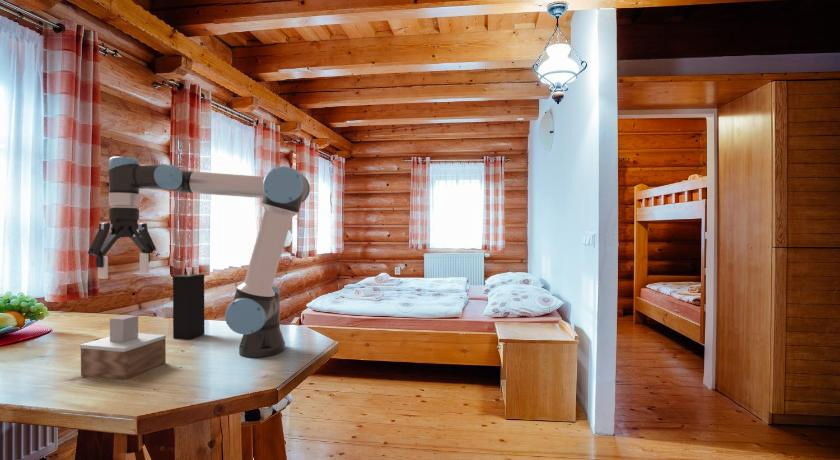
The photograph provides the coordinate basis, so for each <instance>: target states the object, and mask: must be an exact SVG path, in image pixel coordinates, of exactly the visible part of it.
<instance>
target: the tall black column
mask: <svg viewBox="0 0 840 460" xmlns="http://www.w3.org/2000/svg"><path fill="white" fill-rule="evenodd" d="M185 269H186V270H185V271H186V273H185V274H179V275H178V274H177V275H173V276H172V322H173V323H172V326H173V327H172V329H173V330H172V333H173V334H172V337H173V339H178V340H179V339H181V340H193V339H195V338H198V337H201V336H203V335H205V274H203V273H192V270H193V267H188V266H185Z"/></svg>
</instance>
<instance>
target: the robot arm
mask: <svg viewBox="0 0 840 460" xmlns="http://www.w3.org/2000/svg"><path fill="white" fill-rule="evenodd" d="M107 173H108V205H109V206H110V207H109V208H108V219H109V220H110V222H100V223H99V224H98V231H97V232H96V235H95V237H94V239H93V241H92V243H91V245H90V247H89V249H88V252H87V254H88V255H89V256H90V255H92V256H93V257H95V268H97V279H102V280H103V279H104V280H106V279H109V259H108V258H109V257H108V256H107V253H108V252H109V250H110V249H111V248H112V247H113V246H114V244H115V243H117V241H118V240H119V239H121V238H129V239H131V240H132V241H133V244H135V246H137V248H138V249H139V250H140V253H139V274H149V273H150V272H149V271H150V270H149V263H150V262H151V254H153V253H154V252H155V251H156V250H157V247H156V246H155V243H154V242H153V241H154V240H153V239H152V236H151V234H150V233H149V230H148V223H145V222H139V223H138V220H139V219H140V209H139V208H138V207H140V189H148V190H149V189H151V190H152V189H153V190H154V189H155V190H163V191H168V192H175V193H178V194H201V195H215V196H230V197H231V196H232V197H243V198H244V197H245V198H258V199H262V201H261V205H262V207H263V209H264V212H263V215H262V218H261V222H260V226H259V229H258V233H257V237H256V240H255V244H254V245H253V250H252V253H251V257H250V260H249V263H248V267H247V271H246V274H245V277H244V281H243V282H242V283H241V284H238V286H237V287H236V290H235V294H234V297H233V300H232V301H231V302H230V303H229V305H228V306H227V307H226V310H225V313H224V314H225V315H224V319H225V323H226V325H227V327H228V328H229V329H230V330H231V331H233V332H234V333H236V334H239V335H242V338H241V341H240V344H239V348H238V353H239V355H240V356H241V357H245V358H262V357H270V356H274V355H277V354H280V353H282V352H283V351H284V350H285V349H286V343H285V340H284V336H283V334H282V333H283V332H282V330H281V327H280V326H281V323H280V321H281V320H280V317H281V313H280V312H281V309H280V308H281V305H280V302H281V301H280V300H281V299H280V298H281V293H280V291H281V290H280V288H279V287H278V286H276V285H274V283H275V278H276V274H277V271H278V267H279V264H280V261H281V257H282V254H283V250H284V247H285V243H286V241H287V236H288V232H289V229H290V226H291V222H292V219H293V218H294V216H297V215H298V214H299V212H300V210H301V206H302V203H304V202H305V201H306V200H307V199H308V197H309V195H310V191H311V185H310V183H309V181H308V179H307V177H305V175H303V174H301V173H300V172H299V171H298V170H297V169H295V168H293V167H289V166H281V165H280V166H277V167H276V166H275V168H272V169H270V170H269V171H268V173H267V174H266V175H265V176H258V175H244V174H232V173H231V174H229V173H218V172H217V173H216V172H204V171H203V172H202V171H189V170H181V169H180V168H179V166H177V165H174V164H167V163H165V164H164V163H163V164H162V163H161V164H143V163H142V164H141V163H140V162H139V160H138V159H137V158H135V157H130V156H112V157H110V158H109V161H108V170H107ZM110 230H111V231H110Z"/></svg>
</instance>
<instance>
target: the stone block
mask: <svg viewBox="0 0 840 460" xmlns="http://www.w3.org/2000/svg"><path fill="white" fill-rule="evenodd" d="M138 333H139V316H138V315H130V314H124V315H120V316H114V317H111V318H109V337H110V341H111V342H122V343H123V342H127V341H130V340H133V339H137V338H138Z"/></svg>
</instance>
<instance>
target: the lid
mask: <svg viewBox="0 0 840 460" xmlns="http://www.w3.org/2000/svg"><path fill="white" fill-rule="evenodd" d="M166 338H167V335H166V334H155V333H143V332H138V338H137V339H133V340H130V341H127V342H123V343H122V342H111V341H110V336H105V337H103V338H100V339H97V340H96V339H95V340H92V341H88V342H85V343H81V344H79V349H81V348H85V349H96V350H107V351H118V352H125V351H128V350H132V349H135V348H138V347H141V346H144V345H147V344H150V343H153V342H156V341H159V340H162V339H165V340H166Z"/></svg>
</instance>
